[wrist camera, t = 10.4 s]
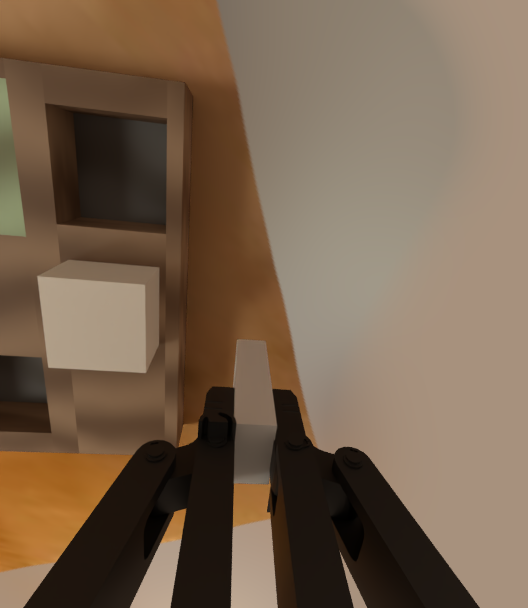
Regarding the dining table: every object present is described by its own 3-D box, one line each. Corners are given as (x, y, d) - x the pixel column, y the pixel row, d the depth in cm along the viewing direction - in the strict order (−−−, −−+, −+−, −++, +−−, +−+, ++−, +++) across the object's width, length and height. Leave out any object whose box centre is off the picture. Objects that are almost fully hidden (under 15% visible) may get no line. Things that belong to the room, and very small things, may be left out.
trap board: (183, 424, 34) (176, 456, 30) (-17, 417, 32) (-50, 449, 29) (192, 95, 24) (184, 82, 21) (-92, 58, 23) (-157, 36, 19)
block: (159, 344, 27) (146, 373, 23) (75, 339, 26) (48, 367, 22) (159, 267, 24) (145, 284, 21) (68, 259, 24) (37, 276, 20)
